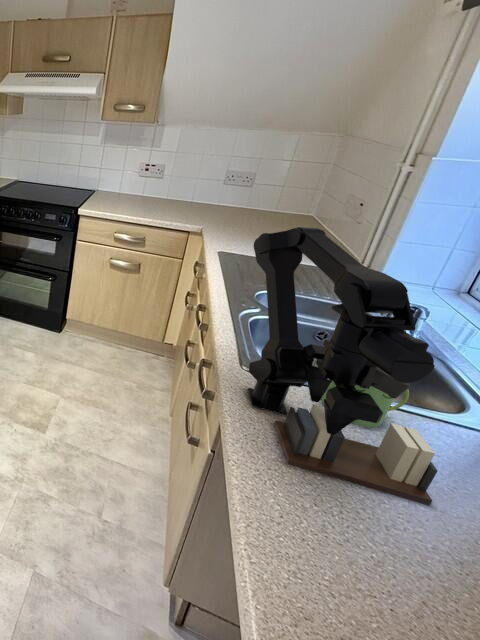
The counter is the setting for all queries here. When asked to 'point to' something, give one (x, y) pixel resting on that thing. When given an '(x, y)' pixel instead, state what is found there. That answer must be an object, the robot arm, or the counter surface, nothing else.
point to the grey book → (306, 429)
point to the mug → (380, 399)
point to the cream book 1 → (319, 431)
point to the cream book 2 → (397, 452)
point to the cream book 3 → (418, 458)
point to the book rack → (350, 463)
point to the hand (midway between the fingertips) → (322, 416)
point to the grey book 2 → (333, 447)
